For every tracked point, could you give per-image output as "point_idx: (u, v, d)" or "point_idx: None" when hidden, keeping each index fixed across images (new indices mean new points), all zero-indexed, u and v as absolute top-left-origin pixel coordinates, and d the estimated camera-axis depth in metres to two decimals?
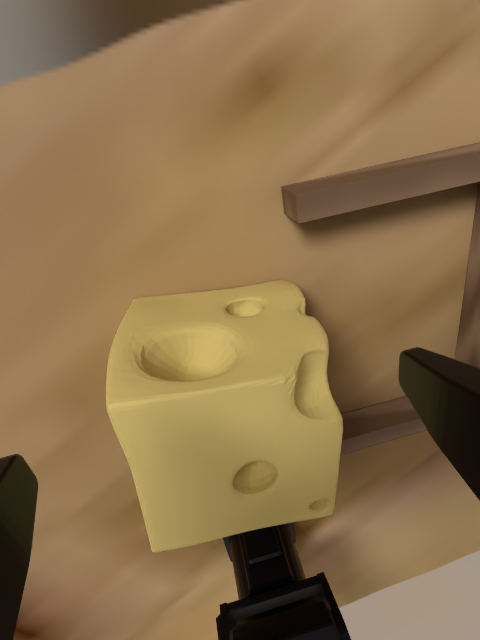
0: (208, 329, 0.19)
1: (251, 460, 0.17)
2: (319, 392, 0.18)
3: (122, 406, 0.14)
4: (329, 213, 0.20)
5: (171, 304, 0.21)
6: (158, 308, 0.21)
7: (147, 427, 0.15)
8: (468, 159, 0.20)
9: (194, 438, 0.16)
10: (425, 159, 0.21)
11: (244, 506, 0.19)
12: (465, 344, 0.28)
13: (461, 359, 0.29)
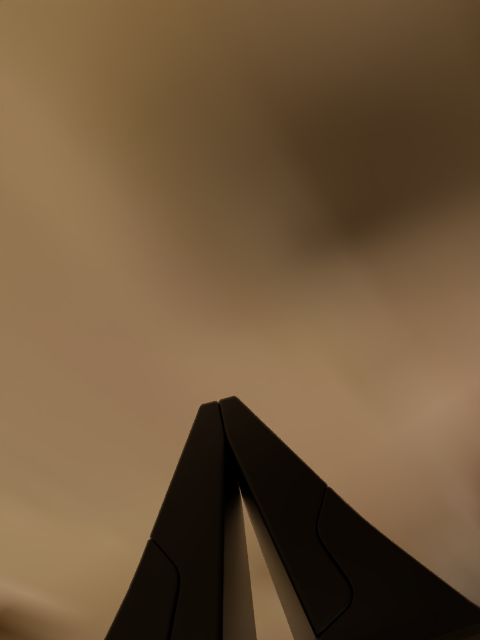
0: None
1: None
2: None
3: None
4: None
5: None
6: None
7: None
8: None
9: None
10: None
11: None
12: None
13: None
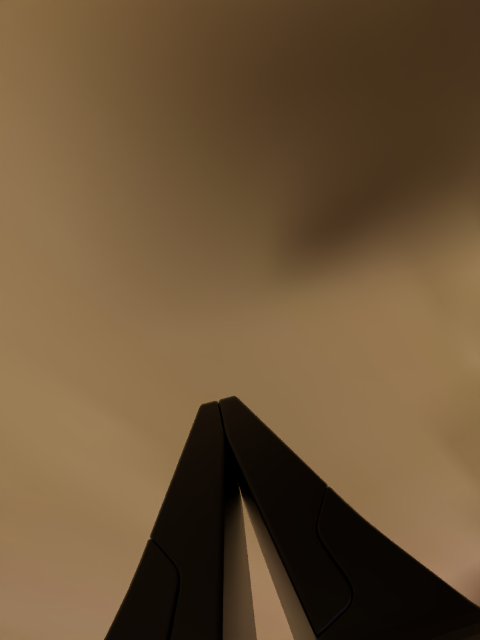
0: None
1: None
2: None
3: None
4: None
5: None
6: None
7: None
8: None
9: None
10: None
11: None
12: None
13: None
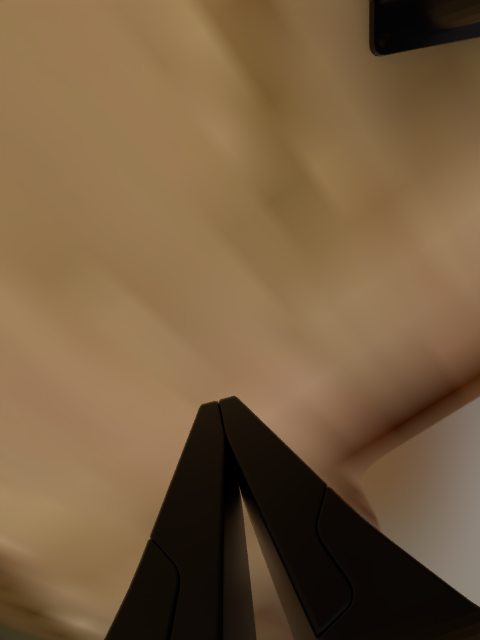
0: None
1: None
2: None
3: None
4: None
5: None
6: None
7: None
8: None
9: None
10: None
11: None
12: None
13: None
